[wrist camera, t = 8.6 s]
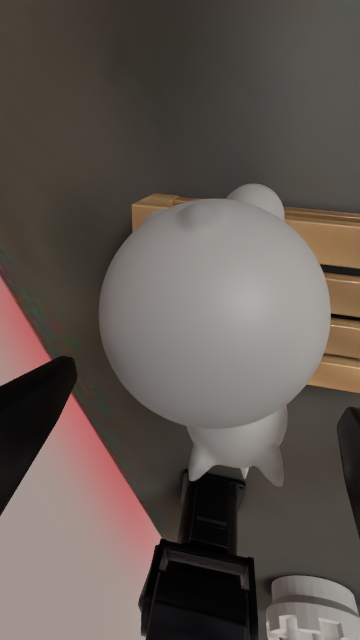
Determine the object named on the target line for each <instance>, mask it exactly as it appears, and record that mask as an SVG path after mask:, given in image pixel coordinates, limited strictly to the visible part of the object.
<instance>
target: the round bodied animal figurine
mask: <svg viewBox="0 0 360 640" xmlns="http://www.w3.org/2000/svg"><path fill="white" fill-rule="evenodd" d="M330 322H331V305H330V296H329V291H328V286H327V282H326V279H325V276H324V273H323V271H322V268H321V266H320V264H319V262H318V260H317V258H316V257H315V255H314V253H313V251H312V250H311V249H310V247H309V246H308V245H307V243H306V242H305V241H304V239H303V238H302V237H301V236H300V235H299V234H298V233H297V232H296V231H295V230H294V229H293V228H292V227H291V226H290V225H288V224H287V223H286V222H284V208H283V205H282V202H281V200H280V198H279V197H278V196H277V194H276V193H275V192H274V191H273V190H271V189H270V188H268V187H266V186H264V185H260V184H246V185H243V186H240V187H238V188H237V189H235V190H234V191H233V192H231V193H230V194H229V195H228V196H227V198H226V199H200V200H195V201H189V202H185V203H182V204H178V205H175V206H173V207H170V208H168V209H161V210H157V211H155V212H153V213H151V214H150V215H149V216H147V217H146V218H145V220H144V221H143V222H142V224H141V225H140V226H139V227H138V228H137V229H136V230H135V231H134V232H133V233H132V234H131V235H130V236H129V237H128V238H127V239H126V240H125V242H124V243H123V244H122V245H121V247H120V248H119V250H118V251H117V253H116V254H115V256H114V258H113V260H112V262H111V264H110V266H109V268H108V270H107V273H106V275H105V278H104V281H103V285H102V289H101V294H100V301H99V328H100V334H101V340H102V343H103V347H104V350H105V353H106V356H107V358H108V360H109V363H110V365H111V367H112V369H113V370H114V372H115V374H116V375H117V377H118V378H119V380H120V381H121V383H122V384H123V385H124V386H125V388H126V389H127V390H128V391H129V392H130V393H131V394H132V395H133V396H134V397H135V398H136V399H137V400H138V401H139V402H140V403H141V404H143V405H144V406H145V407H147V408H148V409H150V410H151V411H153V412H154V413H156V414H158V415H160V416H162V417H164V418H165V419H168V420H170V421H173V422H176V423H178V424H182V425H185V426H186V427H187V430H188V433H189V435H190V437H191V439H192V441H193V449H192V453H191V456H190V461H189V480H190V481H195V480H197V479H199V478H200V477H201V476H202V475H203V474H204V473H205V472H207V471H208V470H209V469H210V468H211V467H213V466H215V465H224V466H228V467H234V468H241V472H242V475H243V478H244V479H246V476H247V473H248V469H249V467H251V466H256V467H257V468H259V469H260V470H261V471H262V473H263V474H264V475H265V477H266V478H267V479H268V480H270V482H271V483H272V484H274V485H275V486H277V487H281V486H282V485H283V481H284V471H283V462H282V457H281V453H280V450H279V446H280V444H281V443H282V440H283V438H284V435H285V432H286V428H287V407H286V404H288V403H289V402H290V401H291V400H292V399H293V398H294V397H296V396H297V395H298V393H299V392H300V391H301V390H302V389H303V388H304V387H305V386H306V384H307V383H308V382H309V380H310V379H311V377H312V376H313V374H314V373H315V371H316V369H317V367H318V365H319V363H320V361H321V359H322V356H323V354H324V351H325V348H326V345H327V341H328V337H329V331H330Z"/></svg>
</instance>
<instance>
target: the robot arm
mask: <svg viewBox="0 0 360 640" xmlns="http://www.w3.org/2000/svg"><path fill="white" fill-rule="evenodd" d="M76 380H77V371H76V366H75V361H74V359H73V358H72V357H67V356H60V357H58V358H56V359H54V360H52V361H50V362H48V363H46V364H44V365H42V366H40V367H38V368H36V369H34V370H32V371H30V372H28V373H26V374H24V375H22V376H20V377H18V378H16V379H14V380H12V381H10V382H8V383H6V384H4V385H2V386H0V516H1V514H2V512H3V511H4V509H5V507H6V506H7V504H8V502H9V501H10V499H11V497H12V496H13V494H14V492H15V490H16V489H17V487H18V486H19V484H20V482H21V480H22V479H23V477H24V476H25V474H26V472H27V471H28V469H29V467H30V466H31V464H32V462H33V461H34V459H35V457H36V456H37V454H38V453H39V451H40V449H41V447H42V446H43V444H44V443H45V441H46V439H47V438H48V436H49V434H50V433H51V431H52V429H53V427H54V426H55V424H56V422H57V421H58V419H59V417H60V415H61V413H62V410H63V408H64V406H65V404H66V402H67V400H68V398H69V395H70V393H71V391H72V389H73V387H74V385H75V383H76ZM337 434H338V440H339V447H340V454H341V461H342V467H343V474H344V479H345V484H346V488H347V492H348V496H349V500H350V503H351V507H352V511H353V515H354V519H355V522H356V526H357V530H358V534H359V538H360V408H356V407H347V408H346V410H345V411H344V413H343V415H342V417H341V419H340V420H339V422H338V425H337ZM244 491H245V483H244V482H242V481H238V480H234V479H229V478H225V477H220V476H216V475H211V474H207V473H204V474H203V475H202V476H201V477H200V478H199V479H197V480H195V481H190V480H189V470H185V472H184V479H183V487H182V495H181V502H182V503H183V509H182V515H181V522H180V528H179V534H178V540H177V543H175V542H170V541H167V540H166V539H161V540H160V544H159V545H156V546H155V550H154V555H153V559H152V563H151V567H150V570H149V573H148V576H147V579H146V582H145V584H144V587H143V590H142V593H141V595H140V598H139V603H138V606H139V609H140V611H141V635H142V636H144V637H146V640H258V614H257V599H256V585H255V570H254V558H251V557H247V558H245V557H241V556H237V511H238V509H239V506H240V503H241V500H242V497H243V494H244ZM241 585H243V589H241Z"/></svg>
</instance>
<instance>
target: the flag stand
mask: <svg viewBox="0 0 360 640" xmlns="http://www.w3.org/2000/svg"><path fill="white" fill-rule="evenodd" d="M272 600H273V602H272V604H271V605H270V606H269V607H268V608H267V610H266V624H267V638H268V640H279V637H281V638H283V640H360V616H359V614H358V610H357V606H356V602H355V599H354V595H353V594H352V592H351V591H350V590H348V589H347V588H345V587H344V586H342V585H340V584H338V583H335V582H332V581H329V580H326V579H322V578H317V577H311V576H298V575H293V576H285V577H280V578H278V579H276V580H274V581H273V582H272Z"/></svg>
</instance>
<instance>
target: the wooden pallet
mask: <svg viewBox="0 0 360 640" xmlns="http://www.w3.org/2000/svg"><path fill="white" fill-rule="evenodd" d="M195 200H200V199H197V198H186V197H179V196H177V195H166V194H152V195H150V196H148V197H146V198H144V199H142V200H140V201H138V202H136V203H134V204H132V233H133V232H134V231H135V230H136V229H137V228H138V227H139V226H140V225H141V224H142V222H143V221H144V220H145V218H146V217H147V216H149V215H150V214H151V213H153V212H155V211H157V210H161V209H168V208H170V207H173V206H175V205H178V204H182V203H185V202H189V201H195ZM283 208H284V222H286V223H287V224H288V225H290V226H291V227H292V228H293V229H294V230H295V231H296V232H297V233H298V234H299V235H300V236H301V237H302V238H303V239H304V241H305V242H306V243H307V245H308V246H309V247H310V249H311V250H312V251H313V253H314V255H315V257H316V258H317V260H318V262H319V264H323V265H331V266H340V267H348V268H357V269H360V214H358V213H347V212H336V211H326V210H315V209H304V208H293V207H283ZM323 273H324V276H325V279H326V282H327V286H328V291H329V296H330V305H331V313H332V314H339V315H346V316H354V317H360V276H352V275H344V274H335V273H327V272H323ZM307 384H308V385H314V386H319V387H325V388H331V389H337V390H343V391H349V392H355V393H360V321H355V320H348V319H341V318H333V317H331V322H330V331H329V337H328V341H327V345H326V348H325V351H324V354H323V356H322V359H321V361H320V363H319V365H318V367H317V369H316V371H315V373H314V374H313V376H312V377H311V379H310V380H309V382H308V383H307Z"/></svg>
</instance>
